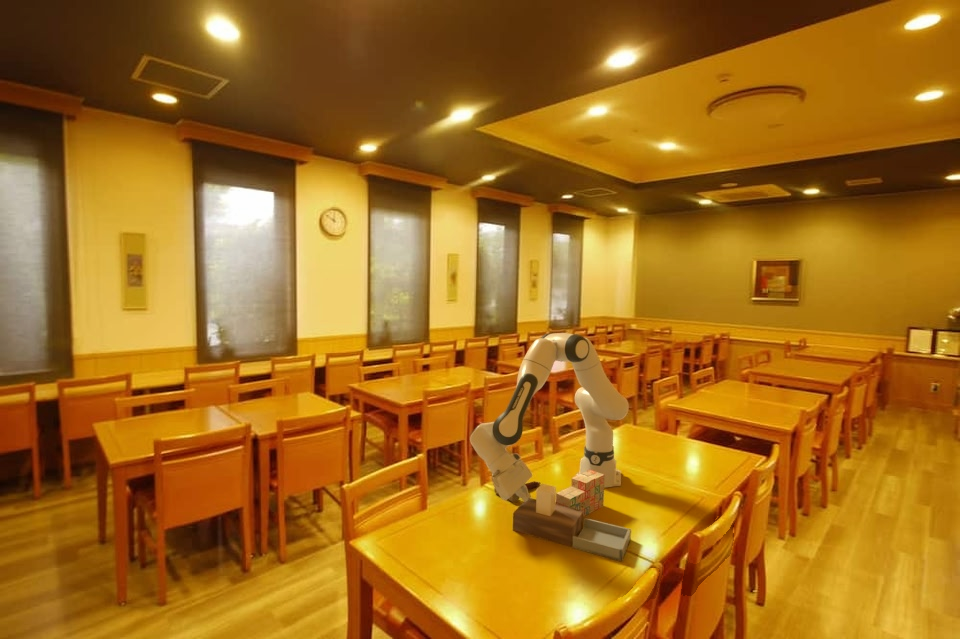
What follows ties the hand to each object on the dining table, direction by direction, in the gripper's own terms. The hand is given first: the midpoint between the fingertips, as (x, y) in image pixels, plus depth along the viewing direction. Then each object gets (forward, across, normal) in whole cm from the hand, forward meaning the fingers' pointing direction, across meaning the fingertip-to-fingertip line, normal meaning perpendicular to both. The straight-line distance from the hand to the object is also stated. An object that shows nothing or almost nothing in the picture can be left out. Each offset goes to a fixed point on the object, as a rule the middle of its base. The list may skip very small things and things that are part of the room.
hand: (528, 499), depth 160 cm
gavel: (-2, +23, +15) cm, 27 cm away
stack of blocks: (+16, +17, -3) cm, 24 cm away
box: (+24, 0, -12) cm, 27 cm away
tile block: (+6, 0, -3) cm, 7 cm away
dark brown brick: (+11, 0, +1) cm, 11 cm away
